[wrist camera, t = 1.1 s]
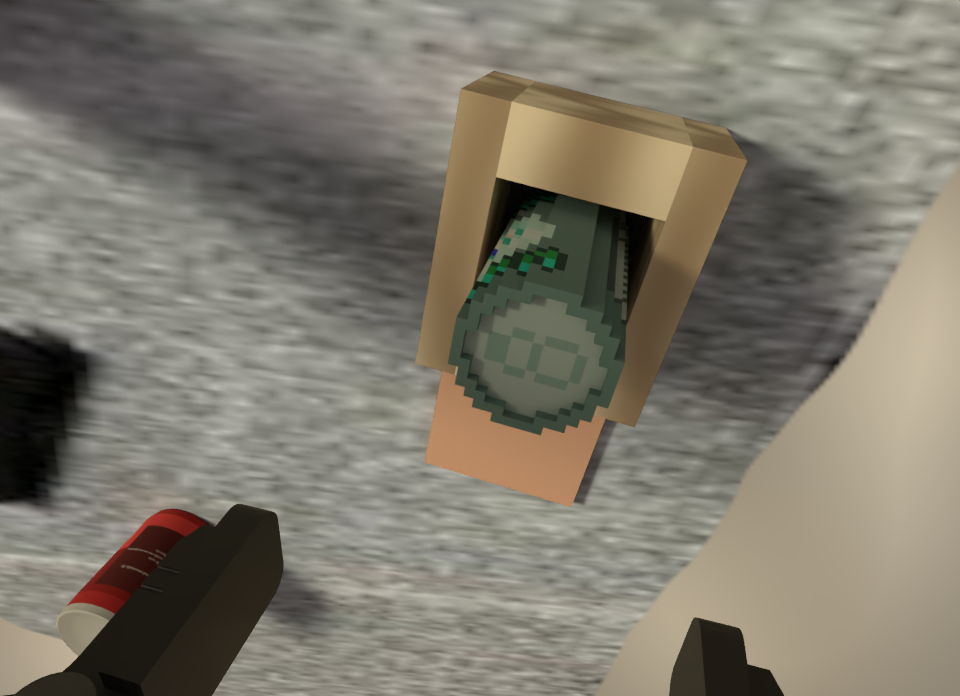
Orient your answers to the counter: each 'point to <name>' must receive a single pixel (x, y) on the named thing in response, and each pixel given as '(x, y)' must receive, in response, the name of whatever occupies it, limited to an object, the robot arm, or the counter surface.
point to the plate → (508, 448)
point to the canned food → (122, 576)
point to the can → (547, 315)
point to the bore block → (588, 176)
